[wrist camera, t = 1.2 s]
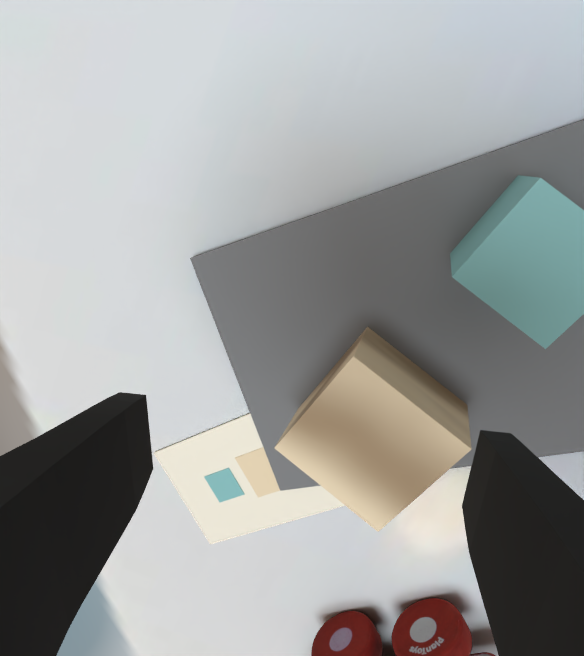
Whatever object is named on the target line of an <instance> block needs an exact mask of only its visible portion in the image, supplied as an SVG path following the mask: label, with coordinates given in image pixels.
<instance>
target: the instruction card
mask: <svg viewBox="0 0 584 656" xmlns="http://www.w3.org/2000/svg"><path fill="white" fill-rule="evenodd" d="M154 455H155V456H156V458H157V459H158V461H159V463H160V464H161V466H162V467H163V469H164V471H165V472H166V474H167V475H168V477H169V479H170V480H171V482H172V484H173V485H174V487H175V488H176V490H177V492H178V493H179V495H180V496H181V498H182V500H183V501H184V503H185V504H186V506H187V508H188V509H189V511H190V513H191V514H192V516H193V517H194V519H195V521H196V522H197V524H198V525H199V527H200V529H201V530H202V532H203V533H204V535H205V537H206V538H207V540H208V542H209V543H210V544H214V543H217V542H221V541H224V540H228V539H231V538H235V537H238V536H241V535H245V534H248V533H252V532H255V531H259V530H262V529H266V528H269V527H273V526H276V525H280V524H283V523H287V522H290V521H294V520H297V519H301V518H304V517H308V516H311V515H314V514H318V513H321V512H325V511H328V510H332V509H335V508H339V507H342V506H345V505H344V504H343V503H342V502H340V501H339V500H338V499H337V498H335V497H334V496H333V495H332V494H331V493H329V492H328V491H327V490H326V489H324V488H323V487H322V486H313V487H306V488H298V489H290V490H283V491H280V489H279V486H278V484H277V481H276V478H275V476H274V473H273V471H272V468H271V466H270V463H269V460H268V458H267V455H266V453H265V450H264V447H263V445H262V442H261V440H260V437H259V435H258V432H257V429H256V427H255V424H254V422H253V419H252V416H251V414H250V413H249V414H246V415H244V416H242V417H239V418H237V419H234V420H232V421H229V422H227V423H224V424H222V425H220V426H217V427H215V428H212V429H210V430H207V431H205V432H202V433H200V434H198V435H195V436H193V437H190V438H188V439H185V440H183V441H180V442H178V443H176V444H173V445H171V446H168V447H166V448H163V449H161V450H158V451H156V452H154Z"/></svg>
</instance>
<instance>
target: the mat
mask: <svg viewBox="0 0 584 656" xmlns="http://www.w3.org/2000/svg"><path fill="white" fill-rule="evenodd" d="M518 175H520V176H530V177H539V178H542V179H543V180H544V181H546V182H547V183H548V184H550V185H551V186H552V187H554V188H555V189H556V190H558V191H559V192H560V193H562V194H563V195H564V196H566V197H567V198H568V199H570V200H571V201H572V202H574V203H575V204H576V205H578V206H579V207H580V208H582V209H583V210H584V120H581V121H578V122H575V123H573V124H570V125H567V126H564V127H561V128H558V129H556V130H553V131H550V132H547V133H544V134H541V135H539V136H536V137H533V138H530V139H527V140H524V141H521V142H519V143H516V144H513V145H510V146H507V147H504V148H502V149H499V150H496V151H493V152H490V153H487V154H485V155H482V156H479V157H476V158H473V159H470V160H468V161H465V162H462V163H459V164H456V165H453V166H450V167H448V168H445V169H442V170H439V171H436V172H433V173H431V174H428V175H425V176H422V177H419V178H416V179H414V180H411V181H408V182H405V183H402V184H399V185H396V186H394V187H391V188H388V189H385V190H382V191H379V192H377V193H374V194H371V195H368V196H365V197H362V198H360V199H357V200H354V201H351V202H348V203H345V204H343V205H340V206H337V207H334V208H331V209H328V210H325V211H323V212H320V213H317V214H314V215H311V216H308V217H306V218H303V219H300V220H297V221H294V222H291V223H289V224H286V225H283V226H280V227H277V228H274V229H272V230H269V231H266V232H263V233H260V234H257V235H254V236H252V237H249V238H246V239H243V240H240V241H237V242H235V243H232V244H229V245H226V246H223V247H220V248H218V249H215V250H212V251H209V252H206V253H203V254H200V255H198V256H195V257H192V258H190V259H191V261H192V264H193V267H194V269H195V272H196V274H197V277H198V280H199V282H200V285H201V287H202V290H203V292H204V295H205V298H206V300H207V303H208V305H209V308H210V311H211V313H212V316H213V318H214V321H215V323H216V326H217V329H218V331H219V334H220V336H221V339H222V342H223V344H224V347H225V349H226V352H227V354H228V357H229V360H230V362H231V365H232V367H233V370H234V373H235V375H236V378H237V380H238V383H239V385H240V388H241V391H242V393H243V396H244V398H245V401H246V404H247V406H248V409H249V411H250V414H251V416H252V419H253V422H254V424H255V427H256V429H257V432H258V435H259V437H260V440H261V442H262V445H263V447H264V450H265V453H266V455H267V458H268V460H269V463H270V466H271V468H272V471H273V473H274V476H275V478H276V481H277V484H278V486H279V489H280V491H283V490H290V489H298V488H306V487H313V486H321V485H319V484H318V483H317V482H316V481H314V480H313V479H312V478H311V477H309V476H308V475H307V474H306V473H304V472H303V471H302V470H301V469H299V468H298V467H297V466H296V465H294V464H293V463H292V462H291V461H290V460H288V459H287V458H286V457H285V456H283V455H282V454H281V453H280V452H278V451H277V450H276V449H275V446H276V444H277V443H278V441H279V439H280V438H281V436H282V434H283V433H284V431H285V430H286V428H287V426H288V425H289V423H290V421H291V420H292V418H293V416H294V415H295V413H296V411H297V410H298V408H299V407H300V406H301V405H302V403H303V402H304V401H305V400H306V399H307V398H308V396H309V395H310V394H311V393H312V392H313V390H314V389H315V388H316V387H317V386H318V385H319V383H320V382H321V381H322V380H323V379H324V378H325V376H326V375H327V374H328V373H329V372H330V370H331V369H332V368H333V367H334V366H335V365H336V363H337V362H338V361H339V360H340V359H341V357H342V356H343V355H344V354H345V353H346V352H347V350H348V349H349V348H350V347H351V346H352V345H353V343H354V342H355V341H356V340H357V339H358V337H359V336H360V335H361V334H362V333H363V332H364V330H365V329H366V328H367V327H369V328H370V329H371V330H372V331H374V332H375V333H376V334H378V335H379V336H380V337H381V338H383V339H384V340H385V341H386V342H388V343H389V344H390V345H392V346H393V347H394V348H395V349H397V350H398V351H399V352H401V353H402V354H403V355H404V356H406V357H407V358H408V359H409V360H411V361H412V362H413V363H415V364H416V365H417V366H418V367H420V368H421V369H422V370H423V371H425V372H426V373H427V374H429V375H430V376H431V377H432V378H434V379H435V380H436V381H438V382H439V383H440V384H441V385H443V386H444V387H445V388H446V389H448V390H449V391H450V392H452V393H453V394H454V395H455V396H457V397H458V398H459V399H460V400H462V401H463V402H464V403H466V404H467V407H468V417H469V428H470V438H471V448H472V449H471V450H470V451H469V452H468V453H467V454H466V455H465V456H463V457H462V458H461V459H460V460H459V461H458V462H457V463H456V464H454V465H453V466H452V467H451V468H459V467H466V466H472V462H473V458H474V454H475V450H476V446H477V441H478V437H479V433H480V430H486V431H495V432H505V433H511V434H512V435H514V436H515V437H516V438H517V439H518V440H519V441H521V442H522V443H523V444H524V445H525V446H526V447H527V448H528V449H529V450H530V451H531V452H532V453H533V454H535V455H536V456H537V457H543V456H550V455H558V454H566V453H573V452H581V451H584V314H583V315H582V316H581V317H580V318H579V319H578V320H577V321H576V322H574V323H573V324H572V325H571V326H570V327H569V328H568V329H567V330H566V331H565V332H564V333H562V334H561V335H560V336H559V337H558V338H557V339H556V340H555V341H554V342H553V343H552V344H551V345H549V346H548V347H547V348H546V349H545V348H543V347H542V346H541V345H539V344H538V343H537V342H536V341H534V340H533V339H532V338H530V337H529V336H528V335H526V334H525V333H524V332H523V331H521V330H520V329H519V328H517V327H516V326H515V325H513V324H512V323H511V322H510V321H508V320H507V319H506V318H504V317H503V316H502V315H501V314H499V313H498V312H497V311H495V310H494V309H493V308H491V307H490V306H489V305H488V304H486V303H485V302H484V301H482V300H481V299H480V298H479V297H477V296H476V295H475V294H473V293H472V292H471V291H469V290H468V289H467V288H466V287H464V286H463V285H462V284H460V283H459V282H458V281H456V280H455V279H454V278H453V277H452V273H451V259H450V253H451V252H452V251H453V249H454V248H455V247H456V246H457V245H458V244H459V243H460V241H461V240H462V239H463V238H464V237H465V236H466V235H467V233H468V232H469V231H470V230H471V229H472V228H473V226H474V225H475V224H476V223H477V222H478V221H479V220H480V218H481V217H482V216H483V215H484V214H485V213H486V212H487V210H488V209H489V208H490V207H491V206H492V205H493V204H494V202H495V201H496V200H497V199H498V198H499V197H500V195H501V194H502V193H503V192H504V191H505V190H506V189H507V187H508V186H509V185H510V184H511V183H512V182H513V181H514V179H515V178H516V177H517V176H518ZM451 468H450V469H451Z"/></svg>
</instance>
